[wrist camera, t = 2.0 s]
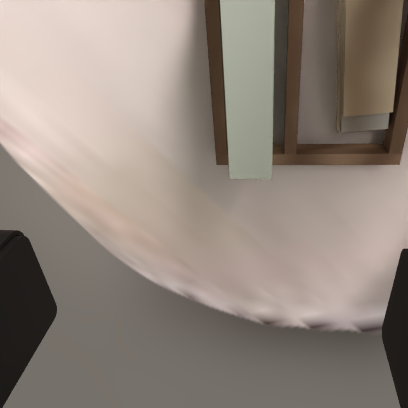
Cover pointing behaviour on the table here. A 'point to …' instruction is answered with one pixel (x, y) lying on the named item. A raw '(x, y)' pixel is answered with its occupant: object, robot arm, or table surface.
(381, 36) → the offcut stack
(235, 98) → the pale green rectangular block
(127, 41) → the table surface
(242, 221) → the table surface
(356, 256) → the table surface
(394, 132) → the rack
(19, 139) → the table surface
